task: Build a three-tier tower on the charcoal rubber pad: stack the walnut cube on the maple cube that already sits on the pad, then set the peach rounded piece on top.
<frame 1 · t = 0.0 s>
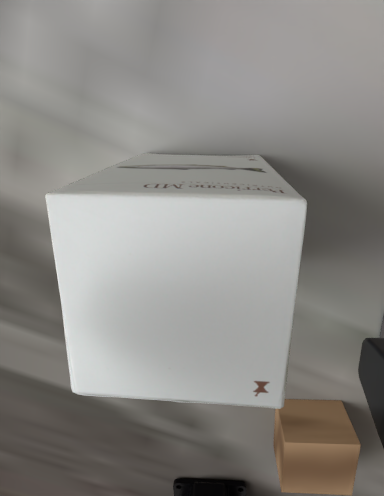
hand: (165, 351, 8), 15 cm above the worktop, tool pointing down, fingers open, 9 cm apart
walnut cube: (305, 422, 28), on the worktop
supplement box: (199, 209, 22), on the worktop
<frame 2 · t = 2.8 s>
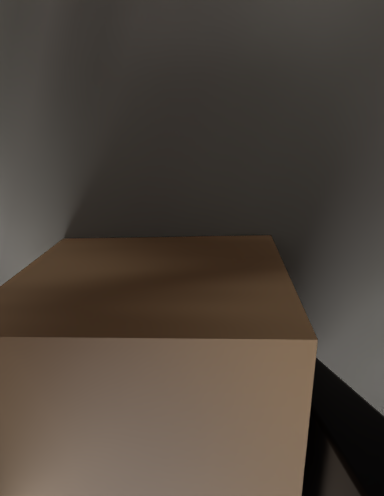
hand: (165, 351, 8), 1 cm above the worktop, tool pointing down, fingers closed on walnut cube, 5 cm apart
walnut cube: (171, 326, 9), on the worktop, touching gripper
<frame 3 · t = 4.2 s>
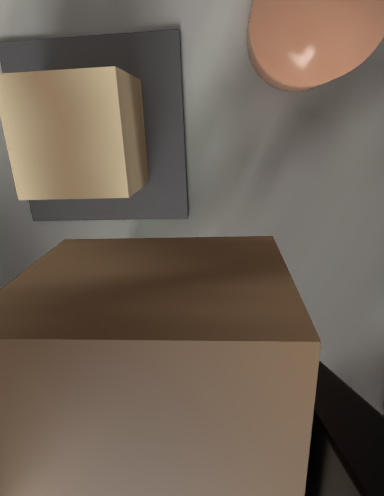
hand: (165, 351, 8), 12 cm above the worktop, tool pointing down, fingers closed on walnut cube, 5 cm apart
walnut cube: (172, 327, 9), point 11 cm above the worktop, touching gripper
peach rounded piece: (299, 34, 15), on the worktop
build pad: (99, 135, 18), on the worktop
maple cube: (97, 135, 18), resting on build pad
when the fingers open (6 cm above the worktop, at t = 5.8 s): walnut cube drops 1 cm, resting on maple cube.
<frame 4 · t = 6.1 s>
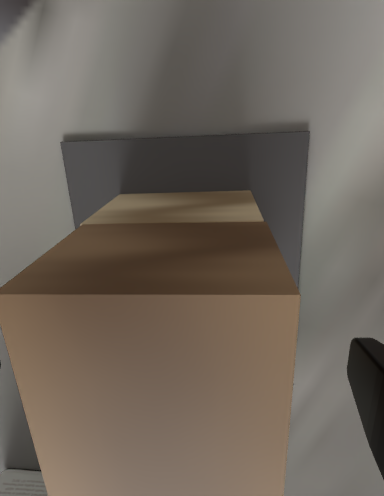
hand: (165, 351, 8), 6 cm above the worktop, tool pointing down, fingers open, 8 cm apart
walnut cube: (177, 304, 10), point 4 cm above the worktop, touching maple cube
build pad: (187, 251, 14), on the worktop
maple cube: (187, 253, 14), resting on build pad, touching walnut cube
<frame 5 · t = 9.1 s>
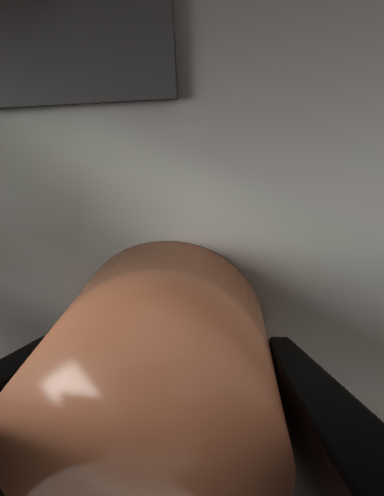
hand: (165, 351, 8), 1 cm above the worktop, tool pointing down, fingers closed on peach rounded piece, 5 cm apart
peach rounded piece: (170, 326, 9), on the worktop, touching gripper
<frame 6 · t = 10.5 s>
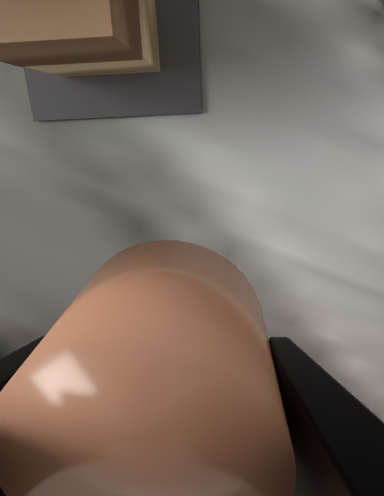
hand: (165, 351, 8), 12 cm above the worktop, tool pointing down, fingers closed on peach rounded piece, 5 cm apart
peach rounded piece: (171, 325, 9), point 11 cm above the worktop, touching gripper
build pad: (105, 17, 16), on the worktop
maple cube: (104, 16, 16), resting on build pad, touching walnut cube
when the fingers open (10 cm above the worktop, at t = 12.0 s): peach rounded piece drops 1 cm, resting on walnut cube.
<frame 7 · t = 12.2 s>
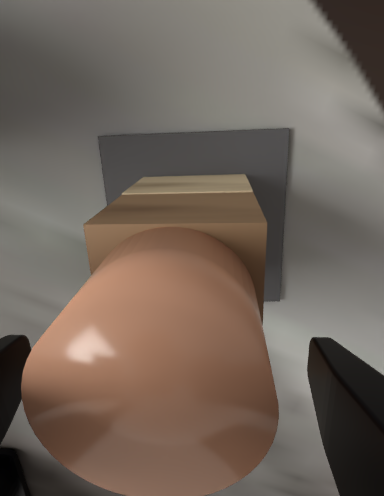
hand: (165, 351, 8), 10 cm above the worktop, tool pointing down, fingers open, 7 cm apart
walnut cube: (189, 254, 14), point 4 cm above the worktop, touching maple cube, peach rounded piece
peach rounded piece: (174, 304, 10), point 8 cm above the worktop, touching walnut cube
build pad: (195, 223, 18), on the worktop
maple cube: (195, 224, 17), resting on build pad, touching walnut cube
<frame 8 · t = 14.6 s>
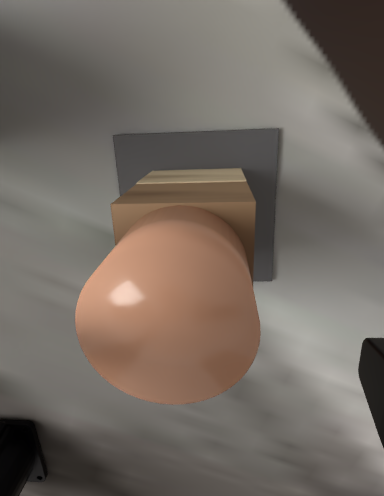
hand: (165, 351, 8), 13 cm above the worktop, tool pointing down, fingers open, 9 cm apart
walnut cube: (192, 235, 16), point 4 cm above the worktop, touching maple cube, peach rounded piece
peach rounded piece: (182, 269, 12), point 8 cm above the worktop, touching walnut cube
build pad: (197, 211, 20), on the worktop
maple cube: (197, 212, 20), resting on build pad, touching walnut cube
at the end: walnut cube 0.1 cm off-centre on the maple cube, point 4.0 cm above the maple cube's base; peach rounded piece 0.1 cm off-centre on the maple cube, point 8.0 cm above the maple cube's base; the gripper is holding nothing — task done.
